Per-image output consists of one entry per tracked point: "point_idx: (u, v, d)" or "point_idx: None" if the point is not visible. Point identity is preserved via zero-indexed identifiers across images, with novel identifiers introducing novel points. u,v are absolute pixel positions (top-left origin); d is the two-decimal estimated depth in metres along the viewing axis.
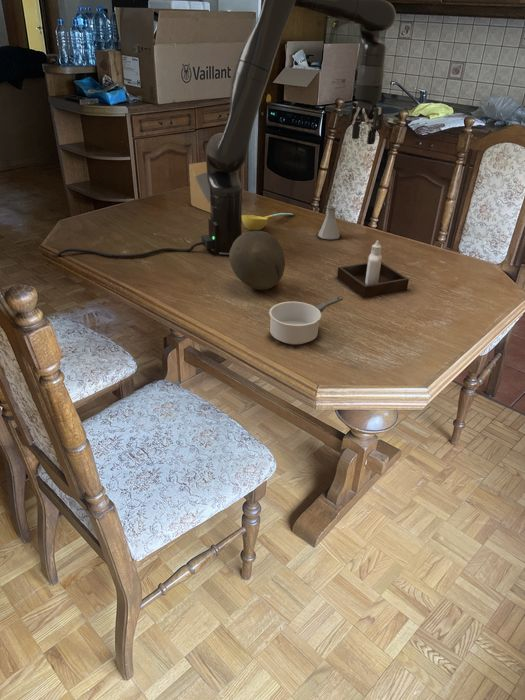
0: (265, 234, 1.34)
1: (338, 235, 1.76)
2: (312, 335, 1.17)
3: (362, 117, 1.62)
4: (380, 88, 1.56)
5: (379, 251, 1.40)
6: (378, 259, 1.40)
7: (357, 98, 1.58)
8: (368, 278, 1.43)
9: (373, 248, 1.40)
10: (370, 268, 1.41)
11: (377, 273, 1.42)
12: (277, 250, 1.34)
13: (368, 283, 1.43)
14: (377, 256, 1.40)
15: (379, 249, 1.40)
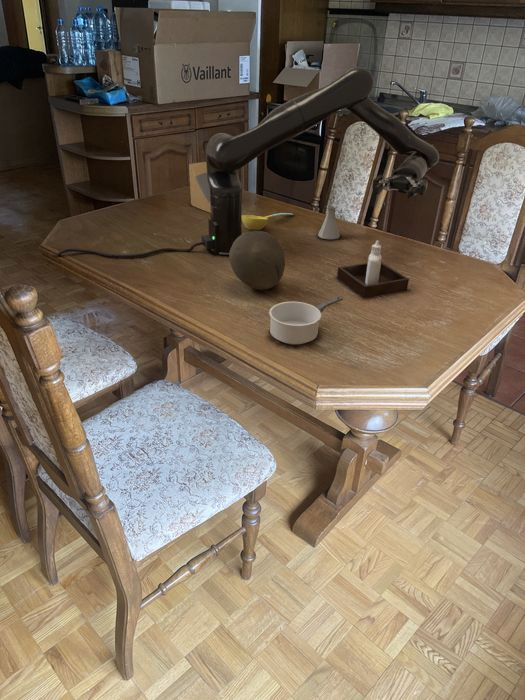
0: (265, 234, 1.34)
1: (338, 235, 1.76)
2: (312, 335, 1.17)
3: (400, 181, 1.48)
4: None
5: (379, 251, 1.40)
6: (378, 259, 1.40)
7: (406, 166, 1.50)
8: (368, 278, 1.43)
9: (373, 248, 1.40)
10: (370, 268, 1.41)
11: (377, 273, 1.42)
12: (277, 250, 1.34)
13: (368, 283, 1.43)
14: (377, 256, 1.40)
15: (379, 249, 1.40)
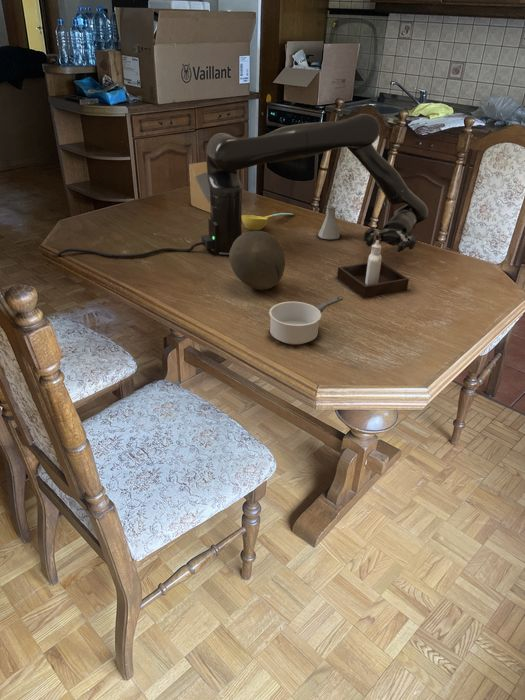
0: (265, 234, 1.34)
1: (338, 235, 1.76)
2: (312, 335, 1.17)
3: (390, 234, 1.53)
4: None
5: (379, 251, 1.40)
6: (378, 259, 1.40)
7: (397, 220, 1.56)
8: (368, 278, 1.43)
9: (373, 248, 1.40)
10: (370, 268, 1.41)
11: (377, 273, 1.42)
12: (277, 250, 1.34)
13: (368, 283, 1.43)
14: (377, 256, 1.40)
15: (379, 249, 1.40)
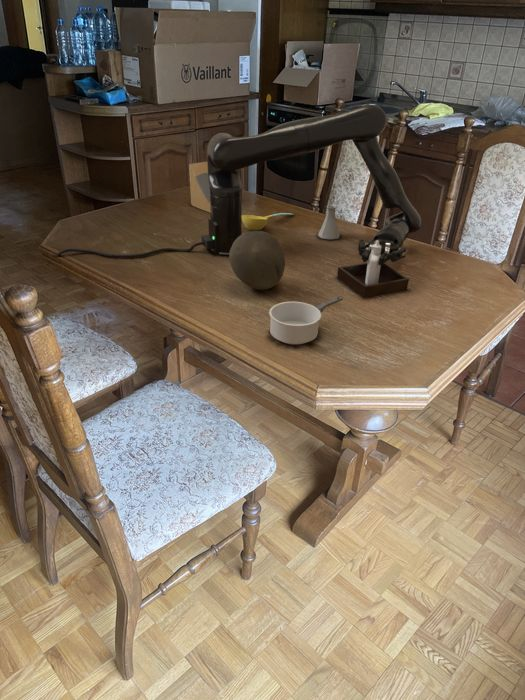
0: (265, 234, 1.34)
1: (338, 235, 1.76)
2: (312, 335, 1.17)
3: None
4: None
5: (379, 251, 1.40)
6: (378, 259, 1.40)
7: (388, 231, 1.48)
8: (368, 278, 1.43)
9: (373, 248, 1.40)
10: (370, 268, 1.41)
11: (377, 273, 1.42)
12: (277, 250, 1.34)
13: (368, 283, 1.43)
14: (377, 256, 1.40)
15: (379, 249, 1.40)
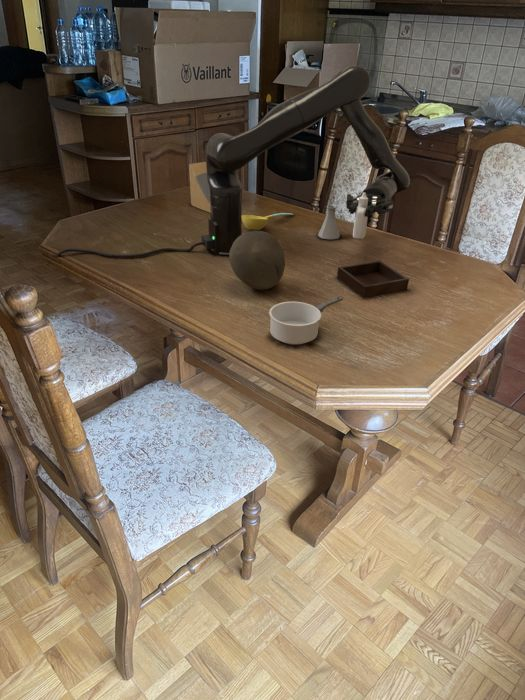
0: (265, 234, 1.34)
1: (338, 235, 1.76)
2: (312, 335, 1.17)
3: (368, 200, 1.48)
4: None
5: (366, 203, 1.43)
6: None
7: (375, 186, 1.51)
8: (355, 230, 1.46)
9: (360, 200, 1.43)
10: (357, 220, 1.44)
11: (364, 225, 1.45)
12: (277, 250, 1.34)
13: (355, 235, 1.47)
14: (364, 208, 1.44)
15: (366, 201, 1.43)
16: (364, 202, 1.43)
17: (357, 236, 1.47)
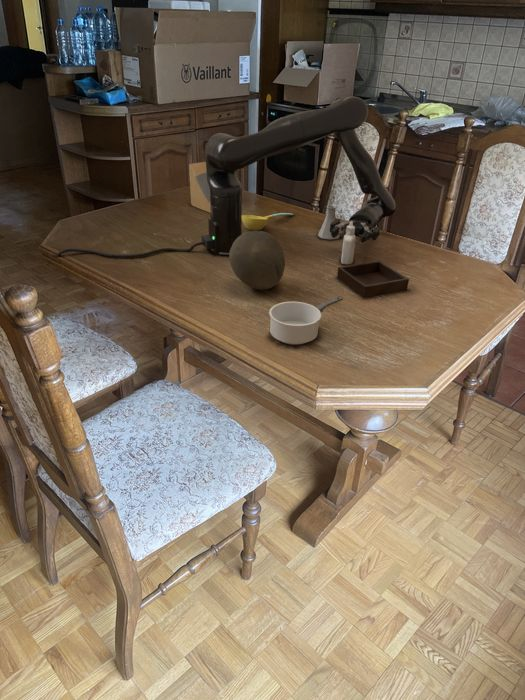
0: (265, 234, 1.34)
1: (338, 235, 1.76)
2: (312, 335, 1.17)
3: (355, 226, 1.58)
4: None
5: (353, 231, 1.54)
6: (352, 239, 1.53)
7: (362, 213, 1.61)
8: (343, 256, 1.56)
9: (347, 229, 1.53)
10: (345, 247, 1.54)
11: (351, 252, 1.55)
12: (277, 250, 1.34)
13: (343, 261, 1.57)
14: (351, 236, 1.54)
15: (353, 230, 1.53)
16: (351, 231, 1.53)
17: (345, 262, 1.57)
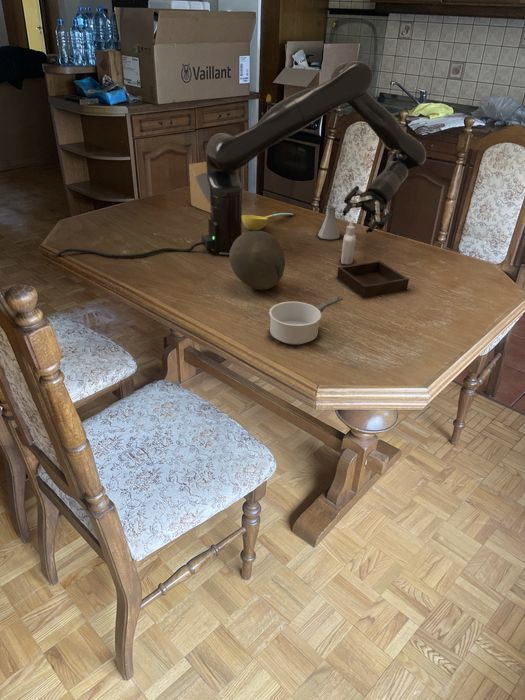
0: (265, 234, 1.34)
1: (338, 235, 1.76)
2: (312, 335, 1.17)
3: (369, 205, 1.60)
4: None
5: (353, 231, 1.54)
6: (352, 239, 1.53)
7: (381, 189, 1.59)
8: (343, 256, 1.56)
9: (347, 229, 1.53)
10: (345, 247, 1.54)
11: (351, 252, 1.55)
12: (277, 250, 1.34)
13: (343, 261, 1.57)
14: (351, 236, 1.54)
15: (353, 230, 1.53)
16: (351, 231, 1.53)
17: (345, 262, 1.57)
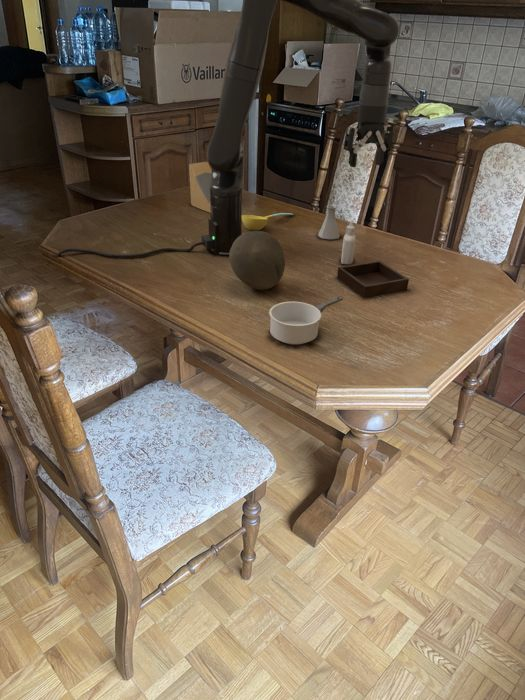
0: (265, 234, 1.34)
1: (338, 235, 1.76)
2: (312, 335, 1.17)
3: (370, 140, 1.47)
4: None
5: (353, 231, 1.54)
6: (352, 239, 1.53)
7: (379, 121, 1.42)
8: (343, 256, 1.56)
9: (347, 229, 1.53)
10: (345, 247, 1.54)
11: (351, 252, 1.55)
12: (277, 250, 1.34)
13: (343, 261, 1.57)
14: (351, 236, 1.54)
15: (353, 230, 1.53)
16: (351, 231, 1.53)
17: (345, 262, 1.57)
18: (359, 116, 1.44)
